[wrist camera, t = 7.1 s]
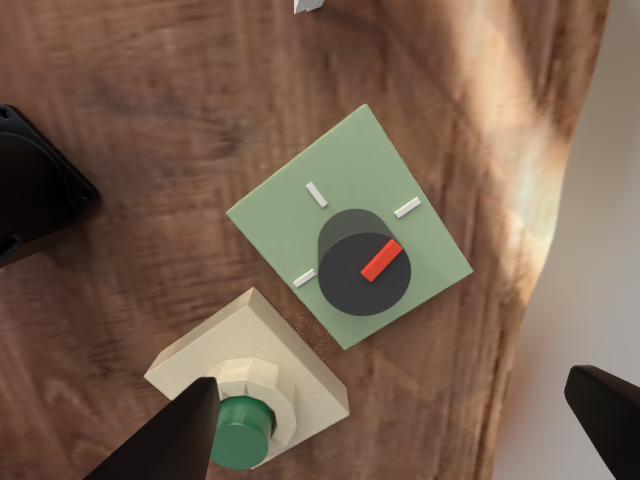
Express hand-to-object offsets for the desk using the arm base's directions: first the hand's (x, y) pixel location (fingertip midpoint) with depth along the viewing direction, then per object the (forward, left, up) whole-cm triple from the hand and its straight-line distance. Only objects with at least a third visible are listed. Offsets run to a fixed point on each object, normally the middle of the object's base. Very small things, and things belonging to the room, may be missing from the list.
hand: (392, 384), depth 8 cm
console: (0, 0, -13) cm, 13 cm away
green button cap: (+5, -12, -9) cm, 15 cm away
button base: (+5, -12, -13) cm, 18 cm away
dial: (0, 0, -10) cm, 10 cm away
